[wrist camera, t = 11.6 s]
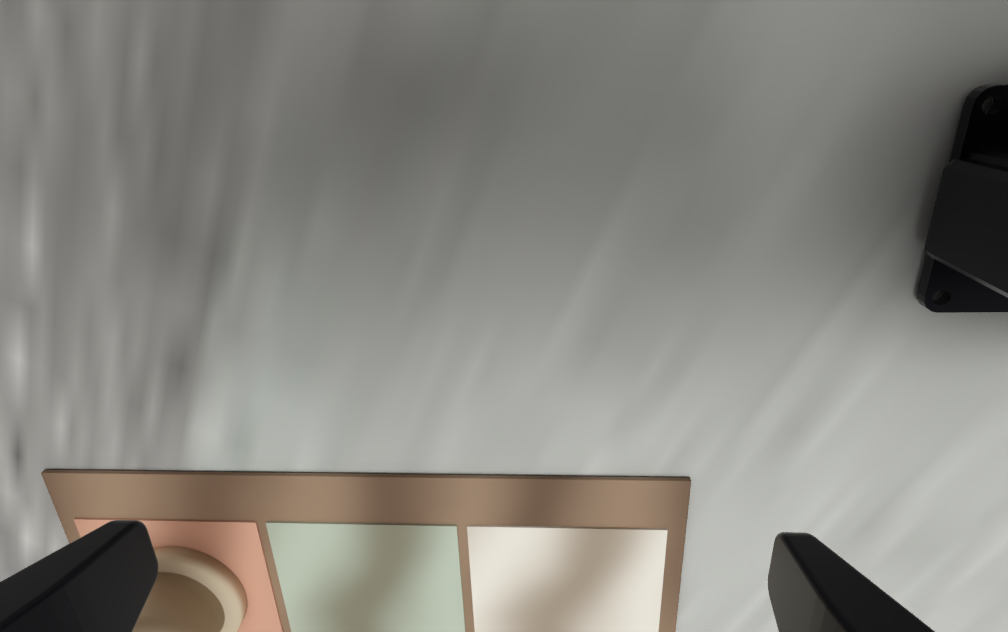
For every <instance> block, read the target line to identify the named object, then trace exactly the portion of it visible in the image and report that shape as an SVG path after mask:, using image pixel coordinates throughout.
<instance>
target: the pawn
mask: <svg viewBox="0 0 1008 632" xmlns="http://www.w3.org/2000/svg"><path fill="white" fill-rule="evenodd" d="M154 551H155V554H156V557H157V560H158V574H157V578H156V581H155V583H154V586H153V588H152V590H151V592H150V594H149V596H148V598H147V601H146V603H145V605H144V607H143V609H142V611H141V614H140V616H139V618H138V620H137V622H136V624H135V626H134V629H133V631H132V632H237V630H238V629H239V627H240V625H241V623H242V621H243V619H244V617H245V615H246V612H247V607H248V600H247V595H246V592H245V589H244V587H243V585H242V583H241V582H240V580H239V579H238V577H237V576H236V575H235V574H234V573H233V572H232V571H231V570H230V569H229V568H228V567H227V566H226V565H224V564H223V563H222V562H220V561H219V560H217V559H215V558H214V557H212V556H210V555H208V554H206V553H203V552H201V551H198V550H195V549H191V548H187V547H181V546H161V547H156V548H154Z"/></svg>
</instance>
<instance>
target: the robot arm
mask: <svg viewBox="0 0 1008 632" xmlns="http://www.w3.org/2000/svg"><path fill="white" fill-rule="evenodd" d="M990 96H991V97H992V98H993V104H992V106H991V108H990V109H989V110H988V111H987V112H986V113H984V112H983V111H982V105H983V103H984V101H985V100H986V99H987V98H989V97H990ZM925 251H926V252H927V255H926V259H925V263H924V267H923V272H922V276H921V280H920V284H919V288H918V292H917V299H918V301H919V303H920V304H922V305H923V306H924V307H926V308H927V309H929V310H930V311H933V312H1008V84H991V85H984V86H980V87H978V88H976V89H975V90H973V91H972V92H971V93H970V94H969V95H968V97H967V98H966V100H965V103H964V105H963V109H962V113H961V117H960V121H959V125H958V129H957V133H956V137H955V141H954V145H953V150H952V154H951V158H950V162H949V164H948V165H947V166H946V167H945V168H944V171H943V175H942V179H941V183H940V187H939V191H938V195H937V199H936V203H935V208H934V212H933V216H932V220H931V224H930V228H929V232H928V236H927V240H926V245H925ZM942 289H943V294H942V295H941V297H939V298H938V299H936V300H933V296H934V295H935V293H936V292H938V291H939V290H942ZM157 574H158V560H157V557H156V554H155V551H154V548H153V545H152V542H151V539H150V536H149V533H148V530H147V528H146V526H145V525H144V524H143V523H142V522H141V521H137V520H114V521H110V522H108V523H106V524H104V525H103V526H101V527H99V528H97V529H95V530H93V531H92V532H90V533H88V534H86V535H84V536H83V537H81V538H79V539H77V540H75V541H74V542H72V543H70V544H68V545H66V546H65V547H63V548H61V549H59V550H57V551H56V552H54V553H52V554H50V555H48V556H47V557H45V558H43V559H41V560H39V561H38V562H36V563H34V564H32V565H30V566H28V567H27V568H25V569H23V570H21V571H19V572H18V573H16V574H14V575H12V576H10V577H9V578H7V579H5V580H3V581H1V582H0V632H132V631H133V629H134V626H135V624H136V622H137V620H138V618H139V616H140V614H141V611H142V609H143V607H144V605H145V603H146V601H147V598H148V596H149V594H150V592H151V590H152V588H153V586H154V583H155V581H156V578H157ZM768 590H769V596H770V600H771V604H772V607H773V611H774V615H775V619H776V622H777V626H778V630H779V632H935V631H933V630H932V629H931V628H930V627H928V626H927V625H926V624H924V623H923V622H922V621H921V620H919V619H918V618H917V617H916V616H914V615H913V614H912V613H911V612H909V611H908V610H907V609H905V608H904V607H903V606H902V605H900V604H899V603H898V602H897V601H895V600H894V599H893V598H892V597H890V596H889V595H888V594H886V593H885V592H884V591H883V590H881V589H880V588H879V587H878V586H876V585H875V584H874V583H873V582H871V581H870V580H869V579H867V578H866V577H865V576H864V575H862V574H861V573H860V572H859V571H857V570H856V569H855V568H854V567H852V566H851V565H850V564H849V563H847V562H846V561H845V560H843V559H842V558H841V557H840V556H838V555H837V554H836V553H835V552H833V551H832V550H831V549H830V548H828V547H827V546H826V545H824V544H823V543H822V542H821V541H819V540H818V539H817V538H816V537H814V536H813V535H811V534H808V533H792V532H783V533H780V534H778V535H777V537H776V538H775V542H774V547H773V553H772V558H771V564H770V569H769V575H768Z"/></svg>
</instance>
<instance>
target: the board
mask: <svg viewBox="0 0 1008 632" xmlns="http://www.w3.org/2000/svg"><path fill="white" fill-rule="evenodd" d="M41 474H42V476H43V479H44V481H45V484H46V486H47V489H48V491H49V494H50V496H51V499H52V501H53V504H54V506H55V509H56V511H57V514H58V516H59V519H60V521H61V524H62V526H63V529H64V531H65V534H66V536H67V538H68V541H69V543H72V542H74V541H75V540H77V539H79V538H81V537H83V536H84V535H86V534H88V533H90V532H92V531H93V530H95V529H97V528H99V527H101V526H103V525H104V524H106V523H108V522H110V521H114V520H137V521H141V522H142V523H143V524H144V525H145V526H146V528H147V530H148V533H149V536H150V539H151V542H152V545H153V548H156V547H161V546H181V547H187V548H191V549H195V550H198V551H201V552H203V553H206V554H208V555H210V556H212V557H214V558H215V559H217V560H219V561H220V562H222V563H223V564H224V565H226V566H227V567H228V568H229V569H230V570H231V571H232V572H233V573H234V574H235V575H236V576H237V577H238V579H239V580H240V582H241V583H242V585H243V587H244V589H245V592H246V595H247V600H248V607H247V612H246V615H245V617H244V619H243V621H242V623H241V625H240V627H239V629H238V630H237V632H675V629H676V620H677V610H678V601H679V591H680V582H681V572H682V562H683V553H684V543H685V534H686V524H687V515H688V505H689V496H690V486H691V480H690V478H677V477H596V476H515V475H434V474H353V473H272V472H191V471H110V470H44V471H43V472H42V473H41Z"/></svg>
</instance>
